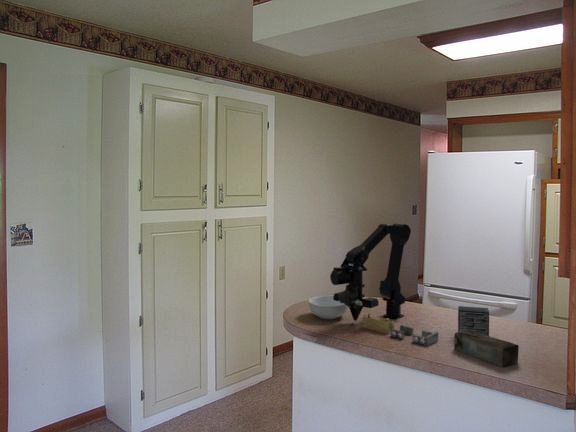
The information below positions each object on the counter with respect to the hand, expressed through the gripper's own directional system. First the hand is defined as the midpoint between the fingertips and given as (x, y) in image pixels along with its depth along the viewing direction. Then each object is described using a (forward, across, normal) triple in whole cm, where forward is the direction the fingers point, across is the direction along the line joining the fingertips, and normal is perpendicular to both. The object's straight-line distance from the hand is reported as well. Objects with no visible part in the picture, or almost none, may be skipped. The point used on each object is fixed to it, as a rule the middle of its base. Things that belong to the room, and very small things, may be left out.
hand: (355, 320), depth 189 cm
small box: (+2, +41, +17) cm, 44 cm away
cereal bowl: (+2, -14, 0) cm, 14 cm away
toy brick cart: (+1, +26, 0) cm, 26 cm away
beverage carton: (+2, +52, +1) cm, 52 cm away
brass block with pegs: (+2, +11, 0) cm, 11 cm away
